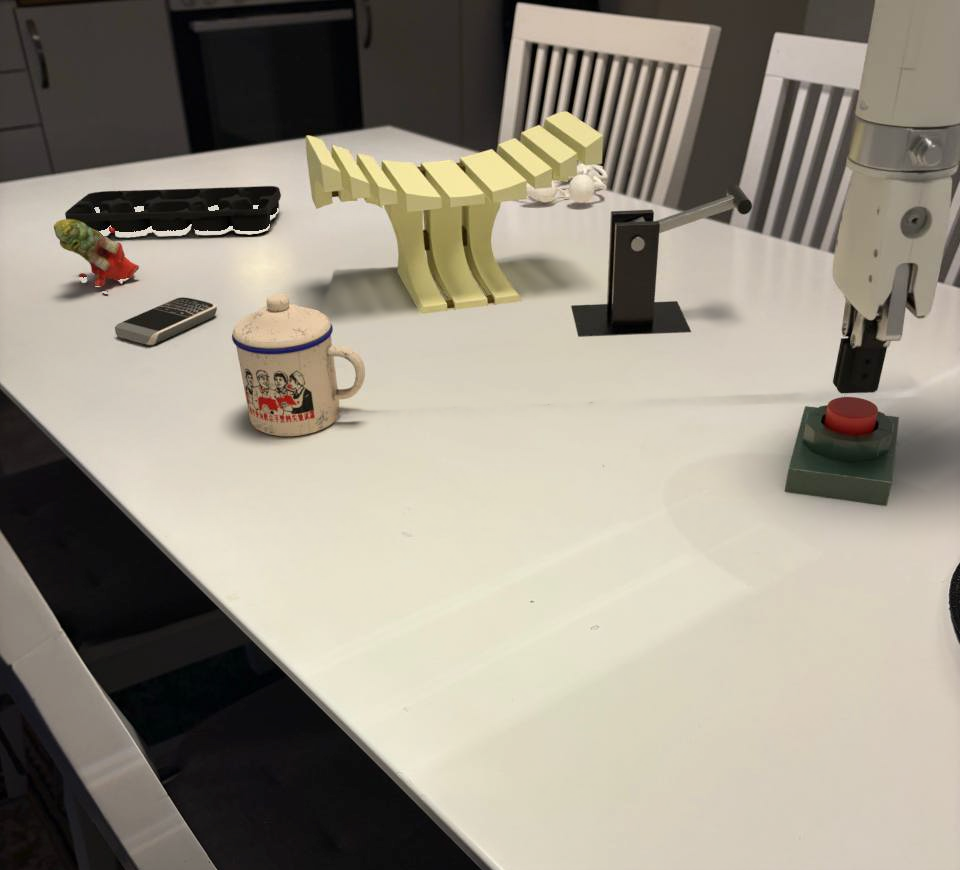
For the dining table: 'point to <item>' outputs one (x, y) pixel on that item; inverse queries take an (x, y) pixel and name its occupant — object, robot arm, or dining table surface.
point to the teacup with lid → (291, 368)
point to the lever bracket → (631, 284)
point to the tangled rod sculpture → (574, 185)
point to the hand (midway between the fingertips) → (854, 388)
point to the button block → (843, 460)
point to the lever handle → (706, 210)
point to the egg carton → (179, 209)
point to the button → (851, 416)
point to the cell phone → (165, 320)
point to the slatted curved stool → (454, 204)
